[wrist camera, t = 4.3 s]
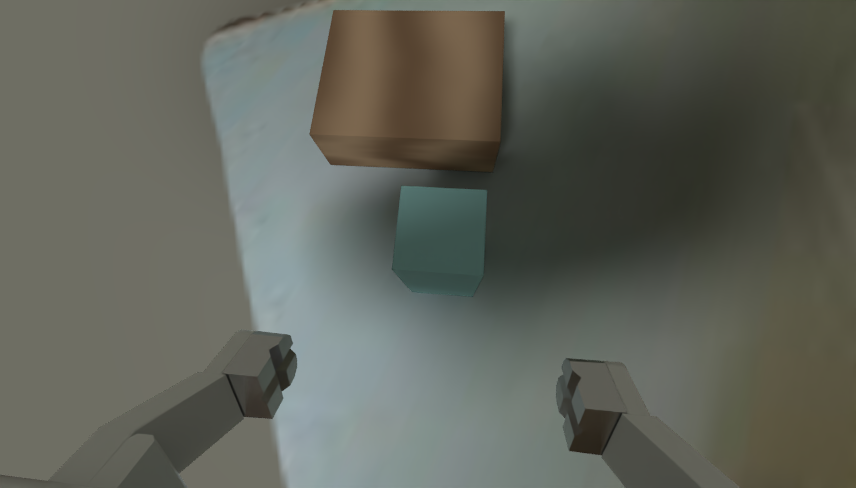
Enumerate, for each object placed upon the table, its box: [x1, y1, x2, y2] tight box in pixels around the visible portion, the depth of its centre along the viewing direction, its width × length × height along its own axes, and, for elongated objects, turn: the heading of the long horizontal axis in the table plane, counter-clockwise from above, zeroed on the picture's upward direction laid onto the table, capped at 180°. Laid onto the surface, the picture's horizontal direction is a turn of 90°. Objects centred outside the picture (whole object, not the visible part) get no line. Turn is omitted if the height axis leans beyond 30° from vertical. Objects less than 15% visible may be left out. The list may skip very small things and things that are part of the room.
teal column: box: [392, 186, 487, 297], centre depth 19 cm, size 4×4×8 cm
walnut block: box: [310, 10, 505, 172], centre depth 24 cm, size 12×10×4 cm
